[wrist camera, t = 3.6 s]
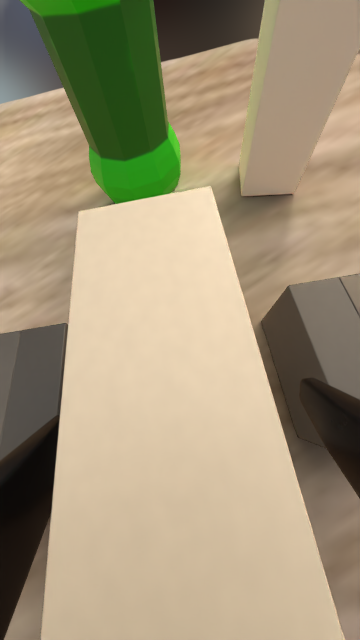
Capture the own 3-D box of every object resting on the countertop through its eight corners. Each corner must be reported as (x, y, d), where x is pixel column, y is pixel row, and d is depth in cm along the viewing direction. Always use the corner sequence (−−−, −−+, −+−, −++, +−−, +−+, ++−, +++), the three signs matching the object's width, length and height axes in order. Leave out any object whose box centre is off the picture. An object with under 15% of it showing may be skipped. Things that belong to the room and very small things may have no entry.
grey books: (384, 425, 14) (507, 443, 8) (29, 473, 15) (-73, 517, 9) (329, 310, 17) (390, 267, 12) (44, 356, 18) (-24, 337, 13)
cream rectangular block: (228, 449, 14) (374, 720, 2) (172, 456, 14) (24, 746, 2) (205, 330, 18) (212, 184, 6) (160, 337, 18) (76, 210, 6)
